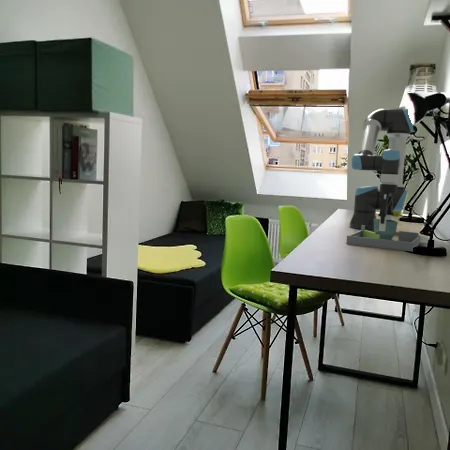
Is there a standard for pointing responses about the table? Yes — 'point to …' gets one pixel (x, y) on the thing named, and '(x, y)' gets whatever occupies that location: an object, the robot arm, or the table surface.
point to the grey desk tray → (404, 243)
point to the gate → (371, 234)
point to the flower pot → (389, 230)
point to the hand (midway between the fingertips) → (384, 229)
